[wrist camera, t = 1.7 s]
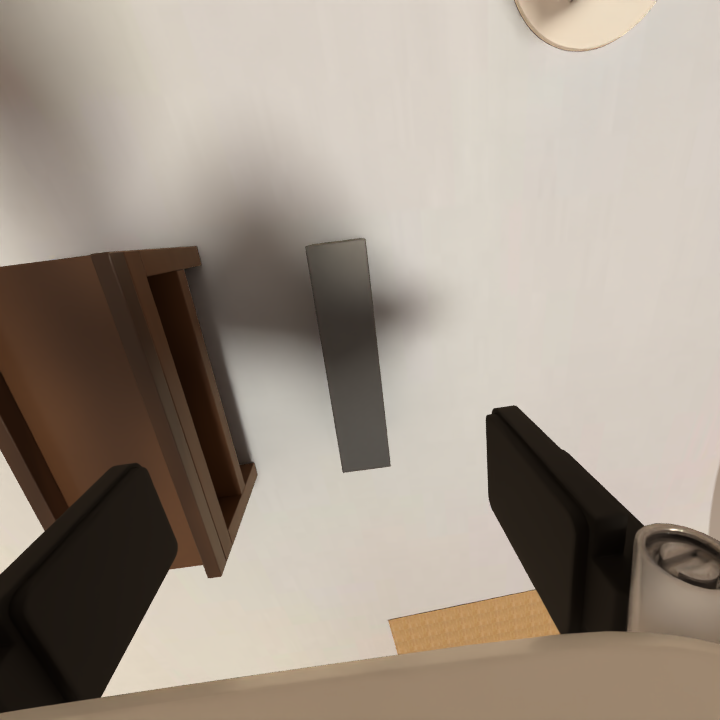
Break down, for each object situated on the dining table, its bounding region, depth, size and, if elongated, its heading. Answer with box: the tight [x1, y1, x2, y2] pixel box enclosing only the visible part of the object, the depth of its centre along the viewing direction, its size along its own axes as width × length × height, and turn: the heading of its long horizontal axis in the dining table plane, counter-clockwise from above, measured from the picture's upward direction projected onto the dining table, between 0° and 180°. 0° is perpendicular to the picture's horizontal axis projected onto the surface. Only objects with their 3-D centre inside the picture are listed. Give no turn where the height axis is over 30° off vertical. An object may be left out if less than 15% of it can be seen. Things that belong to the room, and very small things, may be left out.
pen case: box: [305, 238, 391, 473], centre depth 29 cm, size 4×18×6 cm, turn 7°
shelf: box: [0, 246, 257, 578], centre depth 26 cm, size 10×22×11 cm, turn 7°
